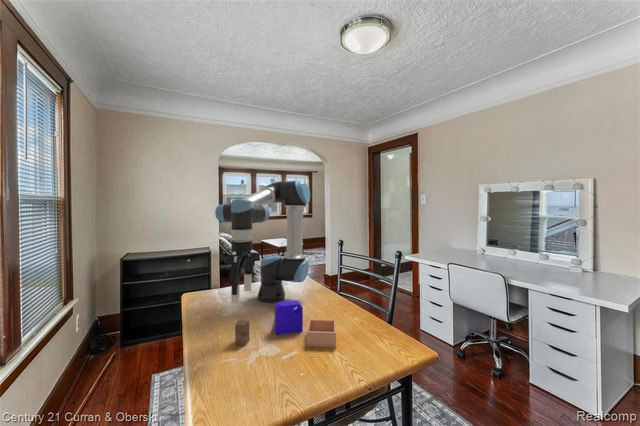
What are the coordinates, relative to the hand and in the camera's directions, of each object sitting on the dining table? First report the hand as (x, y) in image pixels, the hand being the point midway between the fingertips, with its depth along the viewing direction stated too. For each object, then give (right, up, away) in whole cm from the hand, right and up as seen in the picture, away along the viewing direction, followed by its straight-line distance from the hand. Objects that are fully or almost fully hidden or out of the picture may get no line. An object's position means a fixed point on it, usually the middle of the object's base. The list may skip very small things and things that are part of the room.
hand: (242, 296), depth 102 cm
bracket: (+14, -18, +17) cm, 28 cm away
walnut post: (0, -18, +1) cm, 18 cm away
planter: (+30, -18, +3) cm, 35 cm away
